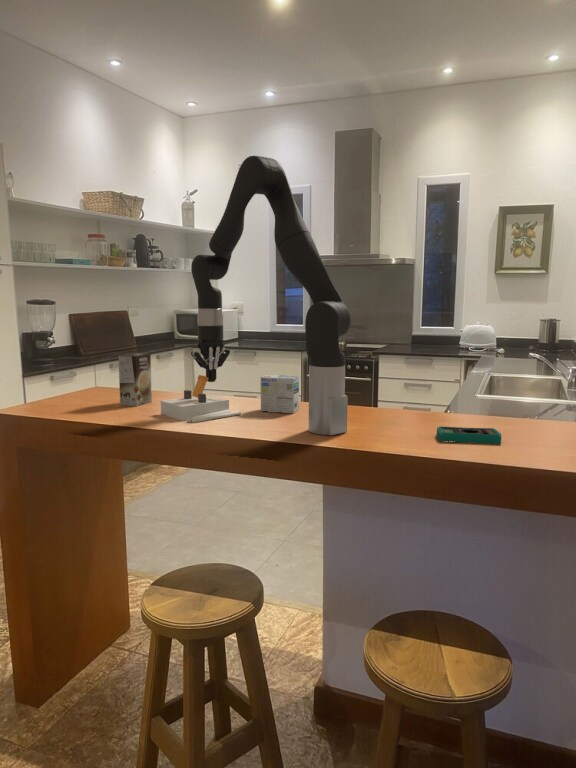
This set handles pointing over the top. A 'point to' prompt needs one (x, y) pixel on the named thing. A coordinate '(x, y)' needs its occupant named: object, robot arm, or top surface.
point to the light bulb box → (280, 393)
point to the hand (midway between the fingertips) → (211, 381)
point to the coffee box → (135, 379)
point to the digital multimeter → (469, 435)
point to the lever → (200, 385)
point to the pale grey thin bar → (208, 415)
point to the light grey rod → (216, 416)
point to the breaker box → (193, 406)
